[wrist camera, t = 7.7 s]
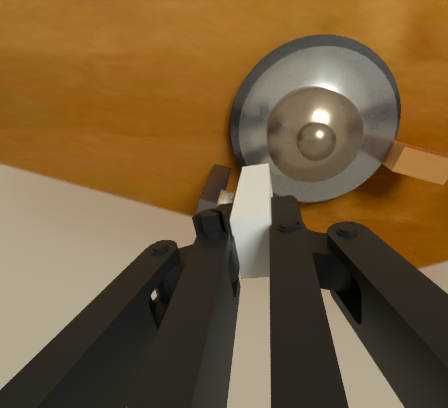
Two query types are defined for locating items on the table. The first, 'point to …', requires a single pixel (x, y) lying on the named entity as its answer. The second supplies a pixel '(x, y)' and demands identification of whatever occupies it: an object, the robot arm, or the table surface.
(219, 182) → the dial stand
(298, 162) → the cover
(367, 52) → the turntable base
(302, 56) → the turntable
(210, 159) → the table surface
